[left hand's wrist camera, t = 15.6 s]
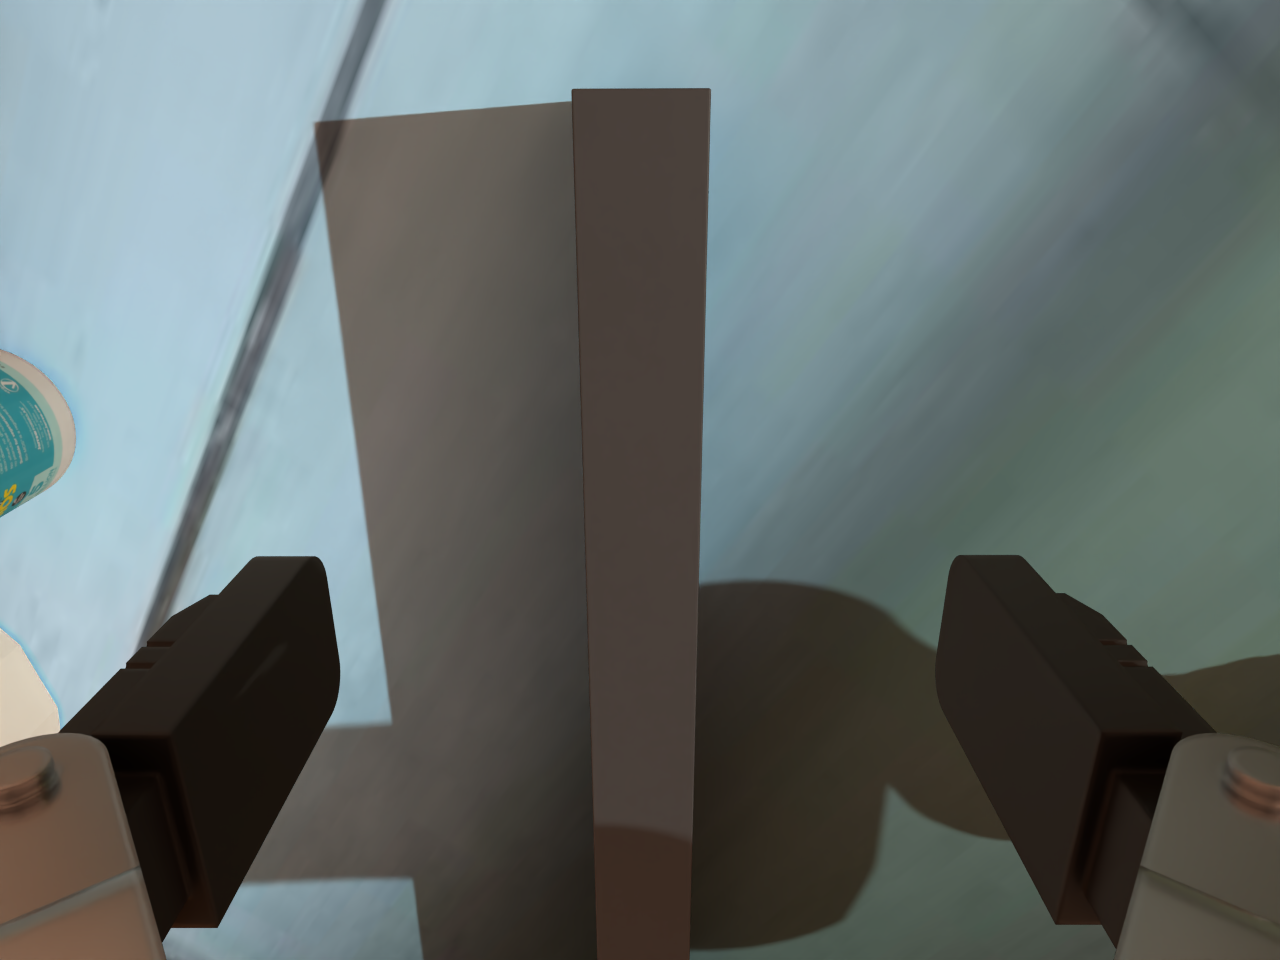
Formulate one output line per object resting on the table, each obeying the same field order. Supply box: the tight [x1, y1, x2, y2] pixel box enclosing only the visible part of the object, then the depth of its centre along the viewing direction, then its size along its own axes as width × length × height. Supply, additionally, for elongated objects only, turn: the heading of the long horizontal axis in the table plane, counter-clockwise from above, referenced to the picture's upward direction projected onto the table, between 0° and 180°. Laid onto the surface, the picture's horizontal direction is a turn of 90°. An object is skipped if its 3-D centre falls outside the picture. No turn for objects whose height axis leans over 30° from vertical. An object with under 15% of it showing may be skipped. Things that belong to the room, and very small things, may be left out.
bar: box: [572, 88, 711, 960], centre depth 43 cm, size 61×4×8 cm, turn 0°
